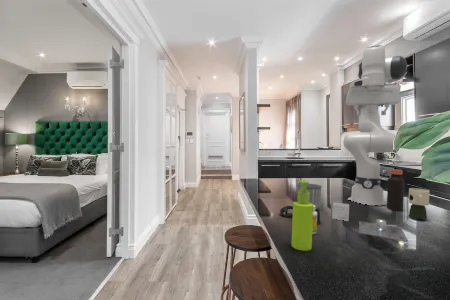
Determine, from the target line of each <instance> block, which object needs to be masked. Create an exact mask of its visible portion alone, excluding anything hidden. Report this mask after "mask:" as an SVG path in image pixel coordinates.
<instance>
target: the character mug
mask: <svg viewBox="0 0 450 300" xmlns="http://www.w3.org/2000/svg"><path fill="white" fill-rule="evenodd" d="M407 199H408V200H407V201H408V203H409V204H411V205H410V208H409V212H408V217H409V218H411V219H414V220H416V219H417V220H418V221H419V220H427V219H428V218H427V217H428V216H427V215H428V213H427V208H426V206H429V205H430V190H429V189H424V188H416V187H415V188H414V187H410V188H408V198H407Z"/></svg>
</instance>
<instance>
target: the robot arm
mask: <svg viewBox="0 0 450 300" xmlns="http://www.w3.org/2000/svg"><path fill="white" fill-rule="evenodd" d="M363 50H364V51H363V54H362V60H361V62H360V63H359V64H358V74H357V75H358V76H357V77H358V80H354V81H352V82H351V83H350V84H349V89H348V91H347V94H346V97H345V98H346V99H345V105H346V106H354V107H353V108H354V110H355V111H356V116H358V127H357V128H358V131H357V132H350V133H349V132H348V133H347V134H346V135H345V136H344V138H343V146H344V148H345V150H347V151H348V152H349V153H350V154H351V155H352V157H353V158H354V159H355V160H354V161H355V164H356V176H355V179H354V180H355V181H354V182H355V183H354V185H352V187H351V194H350V195H351V196H350V197H348V198H347V201H348V200H351V201H350V202H353V201H354V202H353V203H355V202H357V203H356V204H359V203H361V204H360V205H365V204H367V205H366V206H375V205H378V206H387V201H386V202H385V201H384V188H382V187H381V177H380V173H381V164H380V163H379V161H378V160H375V159H374V158H371V157H369V156H368V153H375V154H377V153H378V154H380V153H381V154H384V153H392V152H394V151H393V140H394V138H395V136H396V135H395V134H394V133H391V132H389V131H387V130H386V129H384V128H383V126H382V125H381V117H380V116H386V115H387V111H388V110H389V107H390V105H392V106H393V105H394V106H395V105H397V104H399V103H400V102H401V95H400V92H401V84H400V83H397V82H395V81H394V80H400V79H401V78H403V77H404V76H405V74H406V73H407V69H408V63H407V59H406V58H405V57H403V56H401V55H397V56H396V55H395V56H392V57H386V49H385V46H384V45H380V44H378V45H372V46H368V47H366V48H365V49H363ZM392 80H393V81H394V82H390V81H392ZM359 106H362V107H361V108H360V110H359ZM380 107H381V108H383V107H384V110H381V113H380V111H379V108H380Z"/></svg>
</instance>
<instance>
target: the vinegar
mask: <svg viewBox="0 0 450 300" xmlns="http://www.w3.org/2000/svg"><path fill="white" fill-rule="evenodd" d="M403 171H404V170H402V169H398V168H397V169H395V168H393V169H390V175H391V176H389V178H388V179H387V189H386V190H387V192H386V193H387V195H386V203H387V205H386V209H387V208H388V209H387V210H389V211H390V210H391V211H394V210H396V212H402V211H403V210H404V198H405V196H404V195H405V179H404V178H403Z"/></svg>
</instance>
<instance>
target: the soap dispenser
mask: <svg viewBox="0 0 450 300" xmlns="http://www.w3.org/2000/svg"><path fill="white" fill-rule="evenodd" d="M296 182H297V183H299V184H301V190H300V191H299V190H298V191H297V200H296V201H293V202H292V206H293V210H292V214H293V217H291V218H292V220H291V221H292V222H291V223H292V224H291V244H290V246H291V247H292V248H294V249H295V250H298V251H304V252H305V251H306V252H307V251H311V250H312V246H313V234H312V228H313V204H312V203H309V192H308V191H307V184H310V183H309V181H308V180H305V179H298V180H297V179H296Z"/></svg>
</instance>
